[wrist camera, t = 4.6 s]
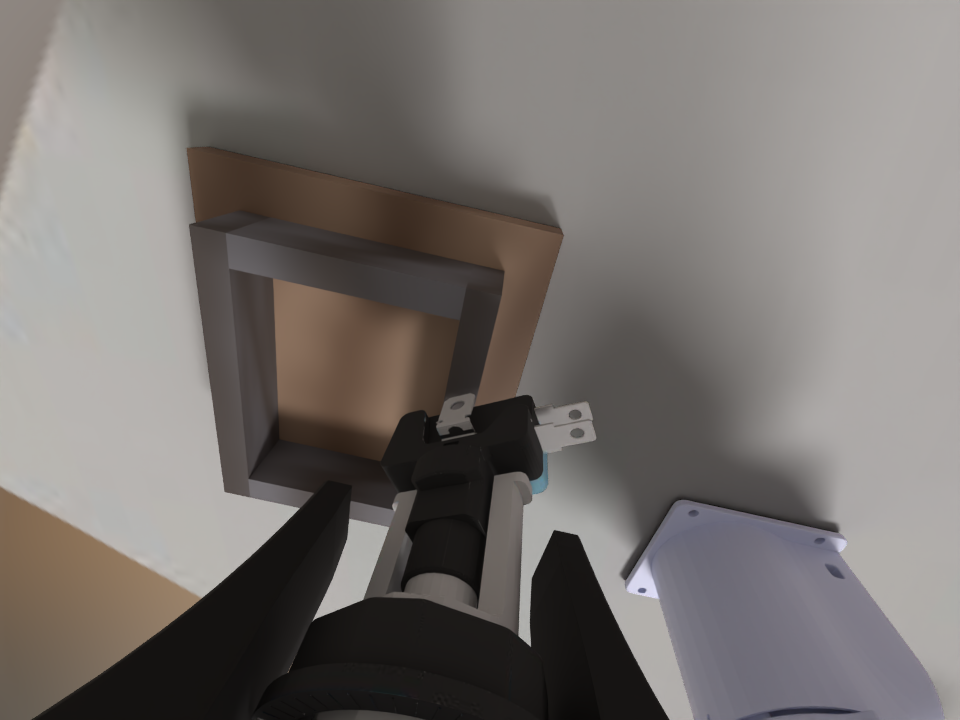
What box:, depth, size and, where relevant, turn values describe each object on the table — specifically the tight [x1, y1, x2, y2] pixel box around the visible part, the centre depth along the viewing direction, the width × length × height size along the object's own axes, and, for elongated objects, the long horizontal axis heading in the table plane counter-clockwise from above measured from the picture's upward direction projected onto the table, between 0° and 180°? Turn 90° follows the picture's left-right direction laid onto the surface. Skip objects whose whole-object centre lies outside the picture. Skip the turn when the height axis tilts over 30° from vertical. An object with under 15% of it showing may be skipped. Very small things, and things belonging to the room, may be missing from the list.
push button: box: [251, 393, 596, 720], centre depth 10 cm, size 7×5×10 cm
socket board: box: [187, 147, 564, 527], centre depth 18 cm, size 14×16×4 cm
